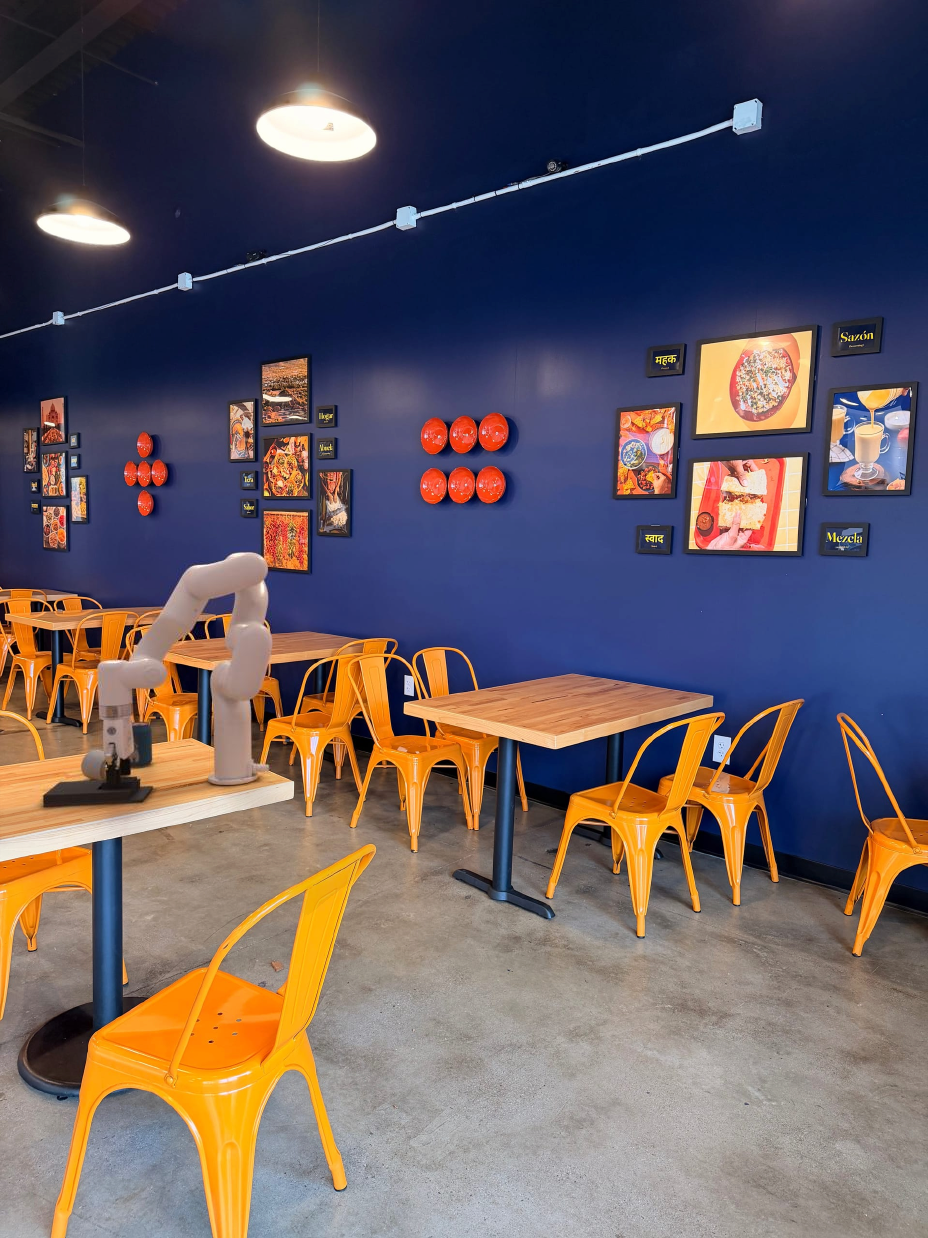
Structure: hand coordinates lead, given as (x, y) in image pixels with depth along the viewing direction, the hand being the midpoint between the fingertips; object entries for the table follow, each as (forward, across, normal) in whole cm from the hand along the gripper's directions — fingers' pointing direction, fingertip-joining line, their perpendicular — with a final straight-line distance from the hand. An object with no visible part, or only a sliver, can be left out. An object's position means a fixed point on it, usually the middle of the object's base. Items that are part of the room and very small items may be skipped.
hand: (119, 780), depth 195 cm
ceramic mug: (+4, +18, +7) cm, 20 cm away
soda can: (+4, +32, +2) cm, 32 cm away
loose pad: (+3, 0, 0) cm, 3 cm away
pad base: (+4, 0, +4) cm, 6 cm away
